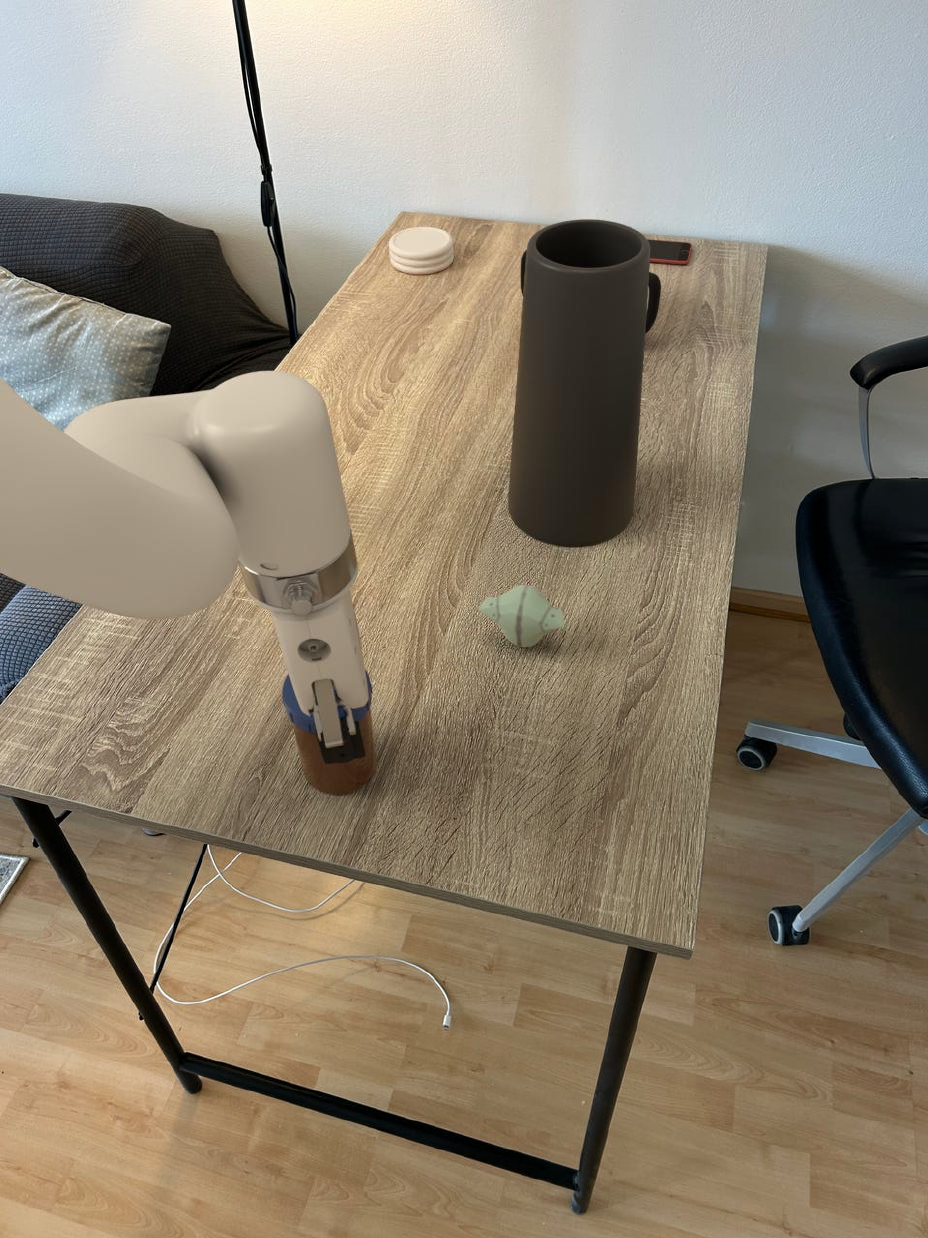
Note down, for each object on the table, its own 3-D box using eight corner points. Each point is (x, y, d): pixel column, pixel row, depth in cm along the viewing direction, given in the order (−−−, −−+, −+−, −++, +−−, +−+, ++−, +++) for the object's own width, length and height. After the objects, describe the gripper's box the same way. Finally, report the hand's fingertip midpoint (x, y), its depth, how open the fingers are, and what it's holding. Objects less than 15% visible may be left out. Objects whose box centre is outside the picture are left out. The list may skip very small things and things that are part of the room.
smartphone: (688, 262, 135) (596, 254, 138) (688, 265, 136) (596, 257, 139) (693, 242, 140) (603, 234, 143) (692, 245, 140) (603, 238, 143)
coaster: (463, 252, 142) (463, 229, 139) (438, 280, 136) (437, 257, 133) (406, 243, 145) (405, 221, 142) (379, 270, 138) (377, 247, 136)
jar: (345, 807, 73) (333, 737, 66) (287, 772, 75) (269, 701, 68) (391, 755, 76) (384, 683, 69) (335, 723, 79) (322, 650, 72)
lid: (389, 691, 70) (387, 676, 69) (334, 749, 66) (332, 735, 65) (323, 655, 73) (321, 641, 72) (267, 709, 69) (263, 695, 68)
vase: (488, 527, 96) (484, 264, 75) (534, 456, 104) (542, 201, 83) (611, 560, 92) (642, 291, 71) (648, 483, 100) (687, 222, 79)
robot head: (476, 649, 84) (474, 599, 79) (488, 619, 87) (487, 568, 82) (560, 666, 82) (563, 616, 77) (569, 634, 85) (573, 583, 80)
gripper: (370, 644, 53) (402, 804, 66) (341, 469, 65) (373, 634, 78) (243, 667, 52) (301, 824, 66) (237, 486, 64) (287, 649, 77)
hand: (340, 719), depth 72 cm, fingers closed on lid, 6 cm apart
